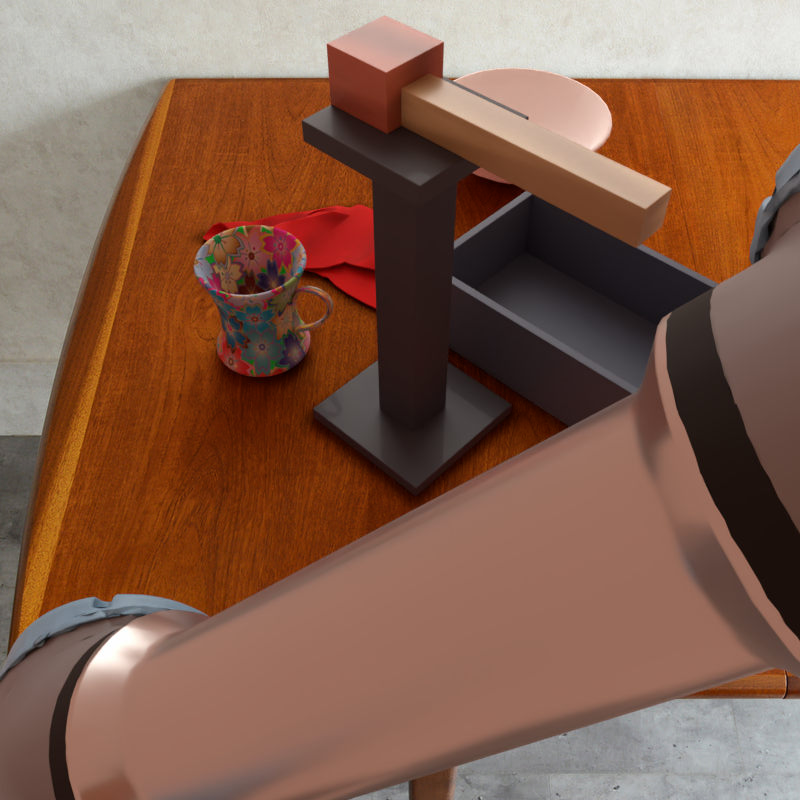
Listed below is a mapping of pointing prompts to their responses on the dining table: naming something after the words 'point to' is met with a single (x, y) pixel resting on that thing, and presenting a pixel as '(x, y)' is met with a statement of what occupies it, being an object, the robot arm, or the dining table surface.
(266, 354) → the mug
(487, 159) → the mallet
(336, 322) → the dining table surface
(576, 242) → the bin
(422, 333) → the stand
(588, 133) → the bowl
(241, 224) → the cloth
